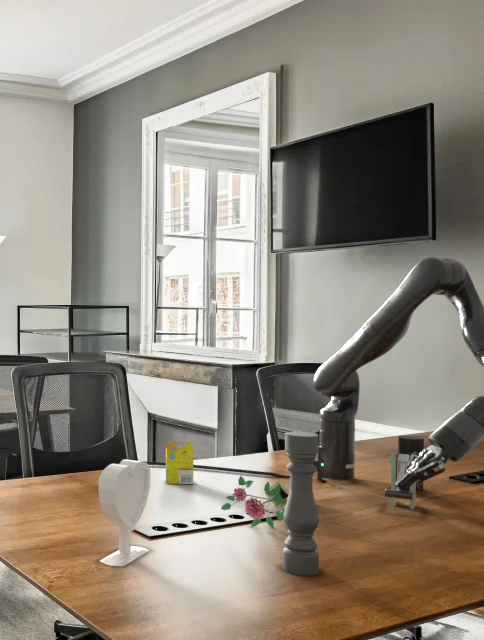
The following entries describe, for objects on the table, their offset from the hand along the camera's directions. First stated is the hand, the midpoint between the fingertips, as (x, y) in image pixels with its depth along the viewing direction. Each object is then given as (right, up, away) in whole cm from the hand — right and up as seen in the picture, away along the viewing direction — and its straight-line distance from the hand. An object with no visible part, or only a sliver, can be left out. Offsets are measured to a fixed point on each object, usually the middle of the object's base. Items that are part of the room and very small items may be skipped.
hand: (398, 488), depth 168 cm
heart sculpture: (-66, -8, -25) cm, 71 cm away
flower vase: (-28, -8, 0) cm, 29 cm away
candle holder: (-35, -8, -32) cm, 48 cm away
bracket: (+6, -8, +10) cm, 14 cm away
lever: (+4, 0, +6) cm, 7 cm away
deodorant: (+18, -8, +28) cm, 34 cm away
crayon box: (-41, -8, +38) cm, 56 cm away
